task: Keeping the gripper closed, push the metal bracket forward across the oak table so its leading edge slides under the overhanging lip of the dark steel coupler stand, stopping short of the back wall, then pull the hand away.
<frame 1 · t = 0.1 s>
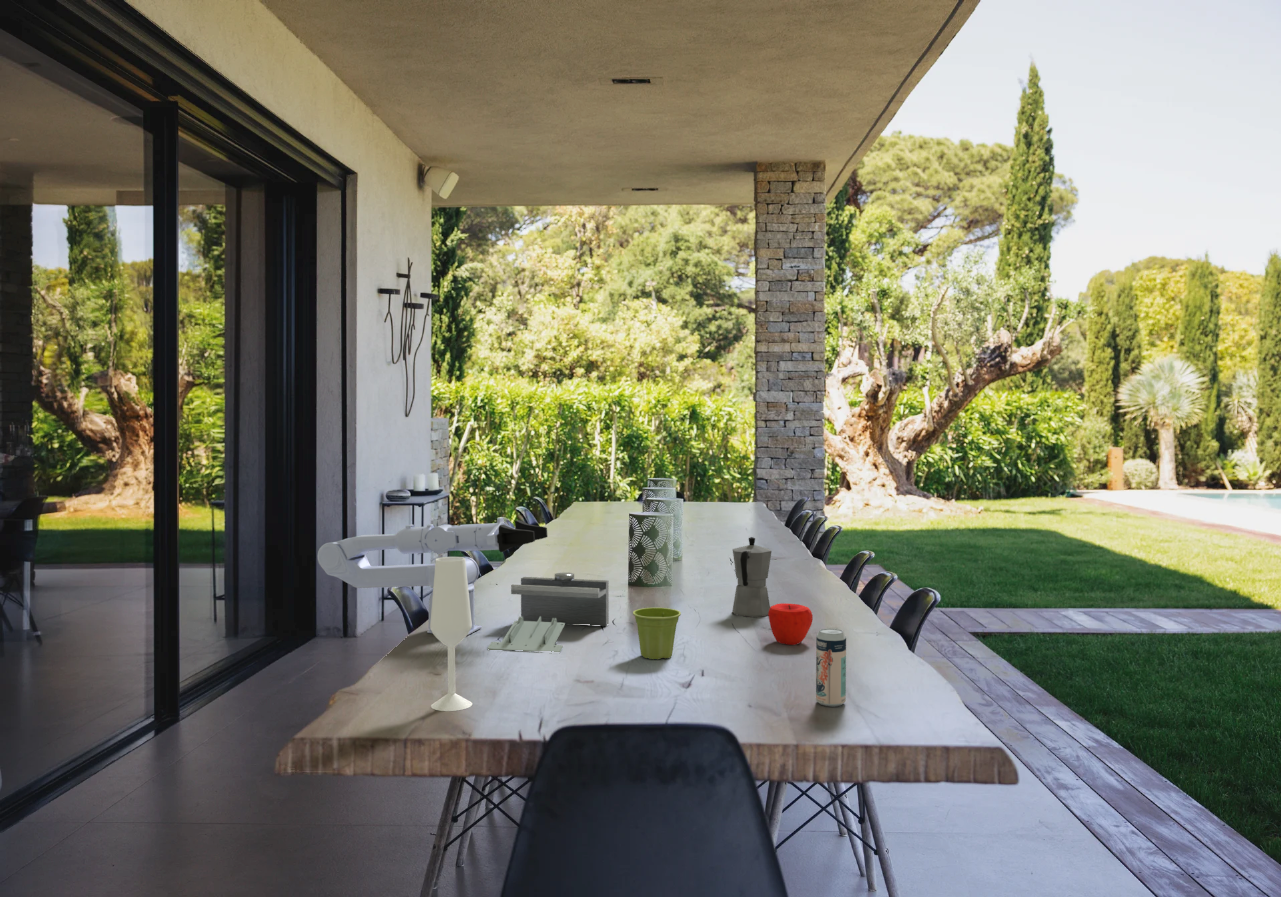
hand: (540, 534, 216), 22 cm above the table, tool horizontal, fingers open, 7 cm apart
coffeepot: (750, 614, 240), on the table
plant pot: (656, 657, 199), on the table
metal bracket: (532, 647, 209), on the table
champagne flute: (451, 706, 167), on the table
coupler stand: (560, 626, 226), on the table
apple: (789, 643, 211), on the table
beer can: (830, 704, 167), on the table
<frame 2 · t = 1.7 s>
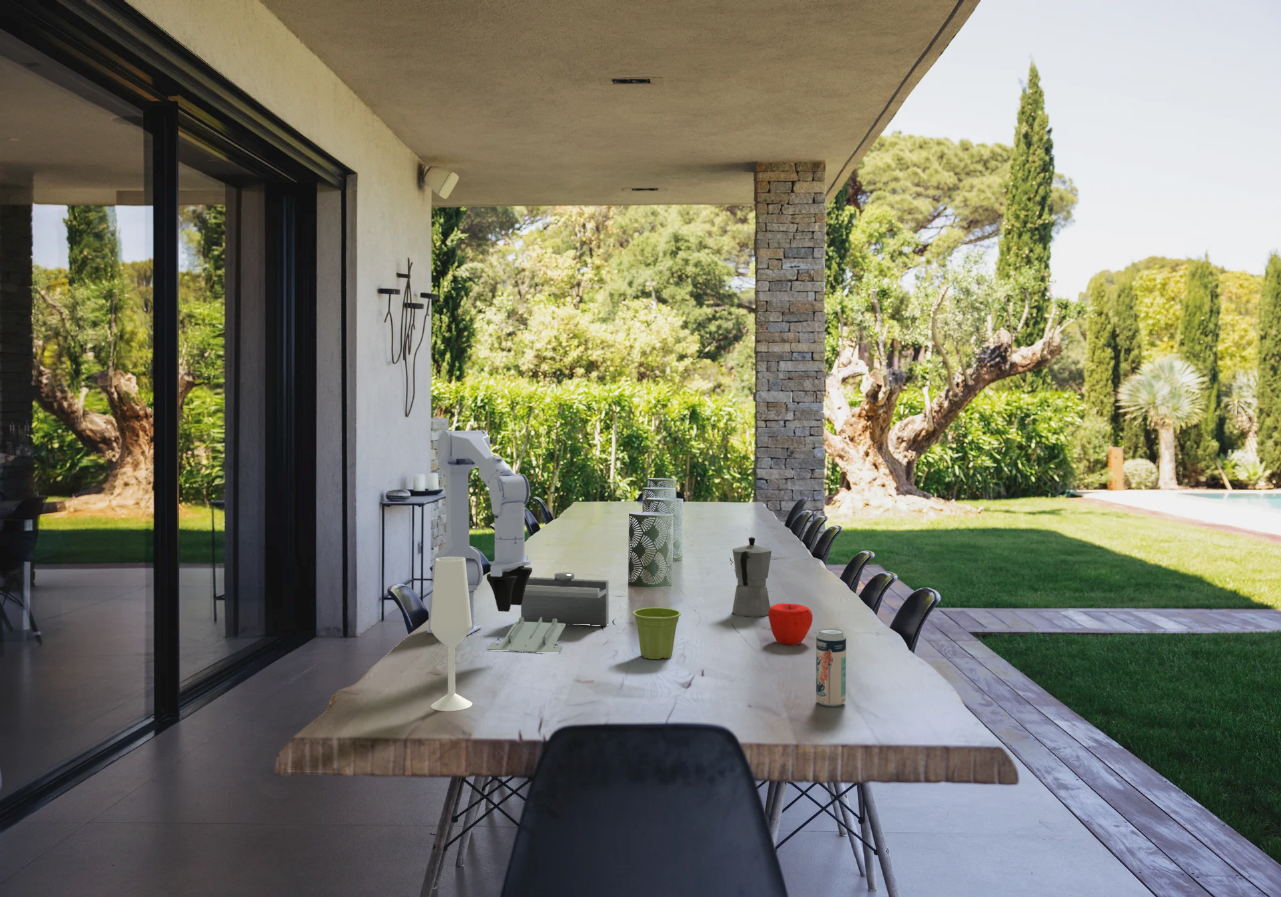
hand: (510, 608, 197), 10 cm above the table, tool pointing down, fingers open, 6 cm apart
nothing on the table moved.
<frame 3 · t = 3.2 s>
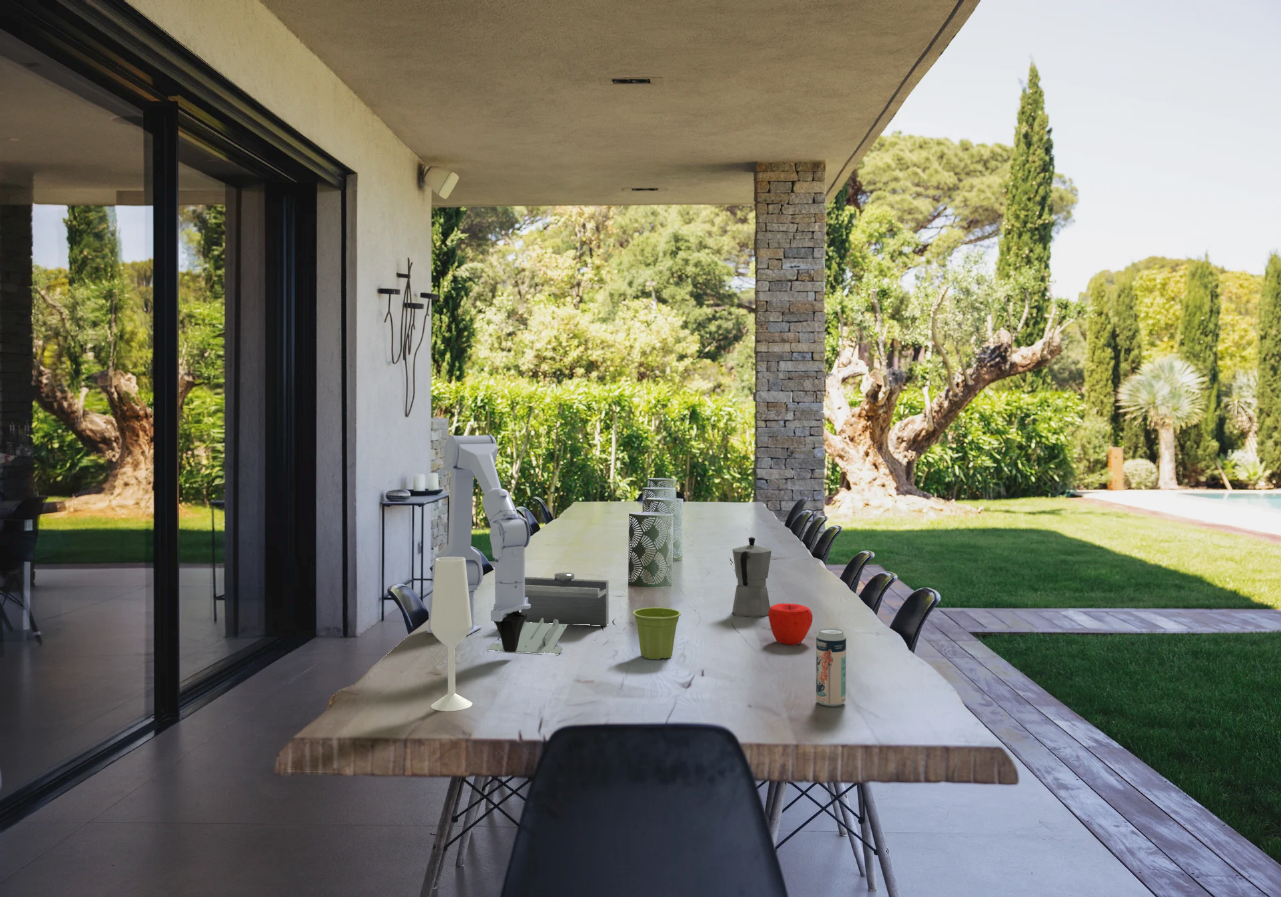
hand: (510, 651, 197), 1 cm above the table, tool pointing down, fingers closed
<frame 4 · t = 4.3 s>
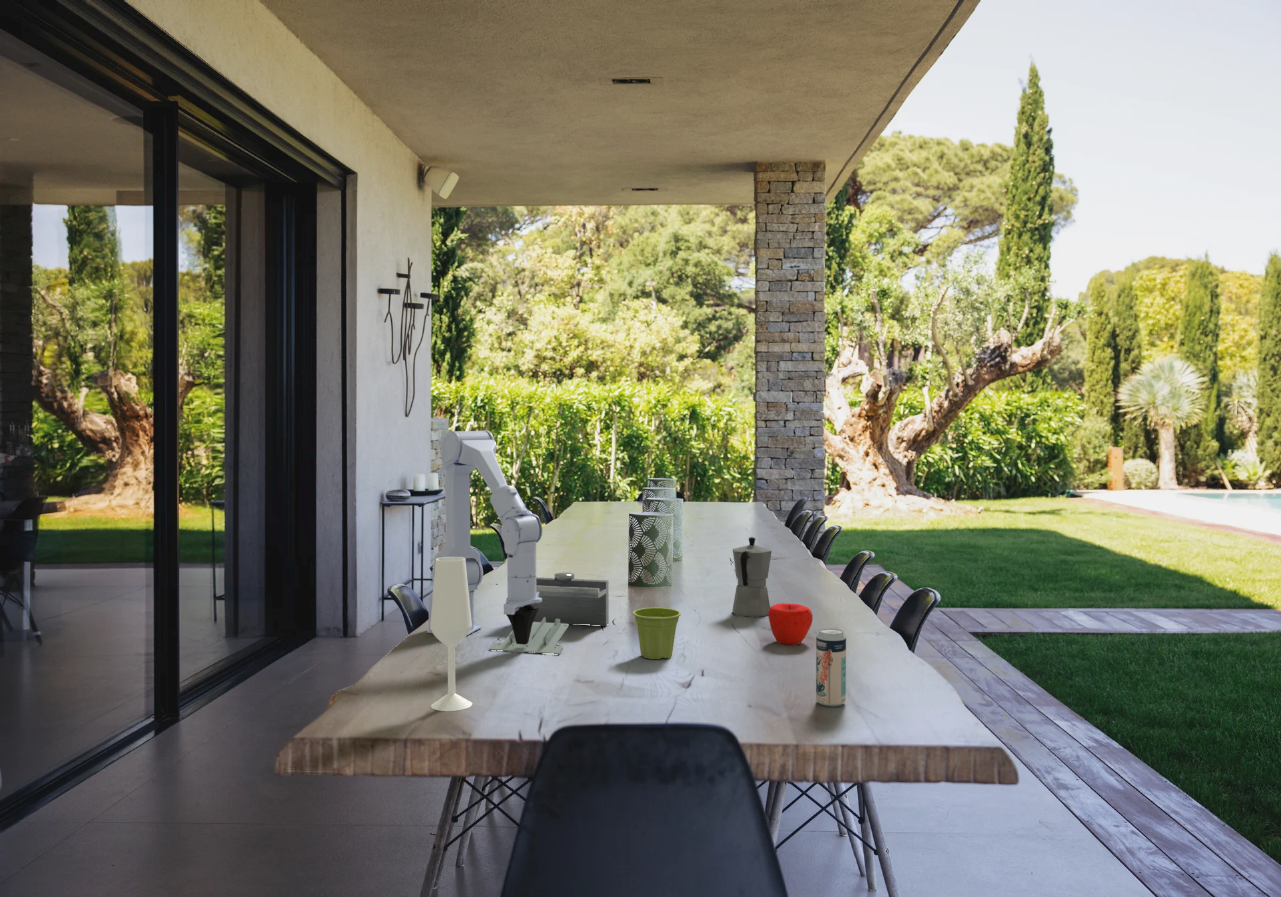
hand: (522, 643, 203), 1 cm above the table, tool pointing down, fingers closed
metal bracket: (534, 648, 208), on the table, touching gripper
everything else where it was.
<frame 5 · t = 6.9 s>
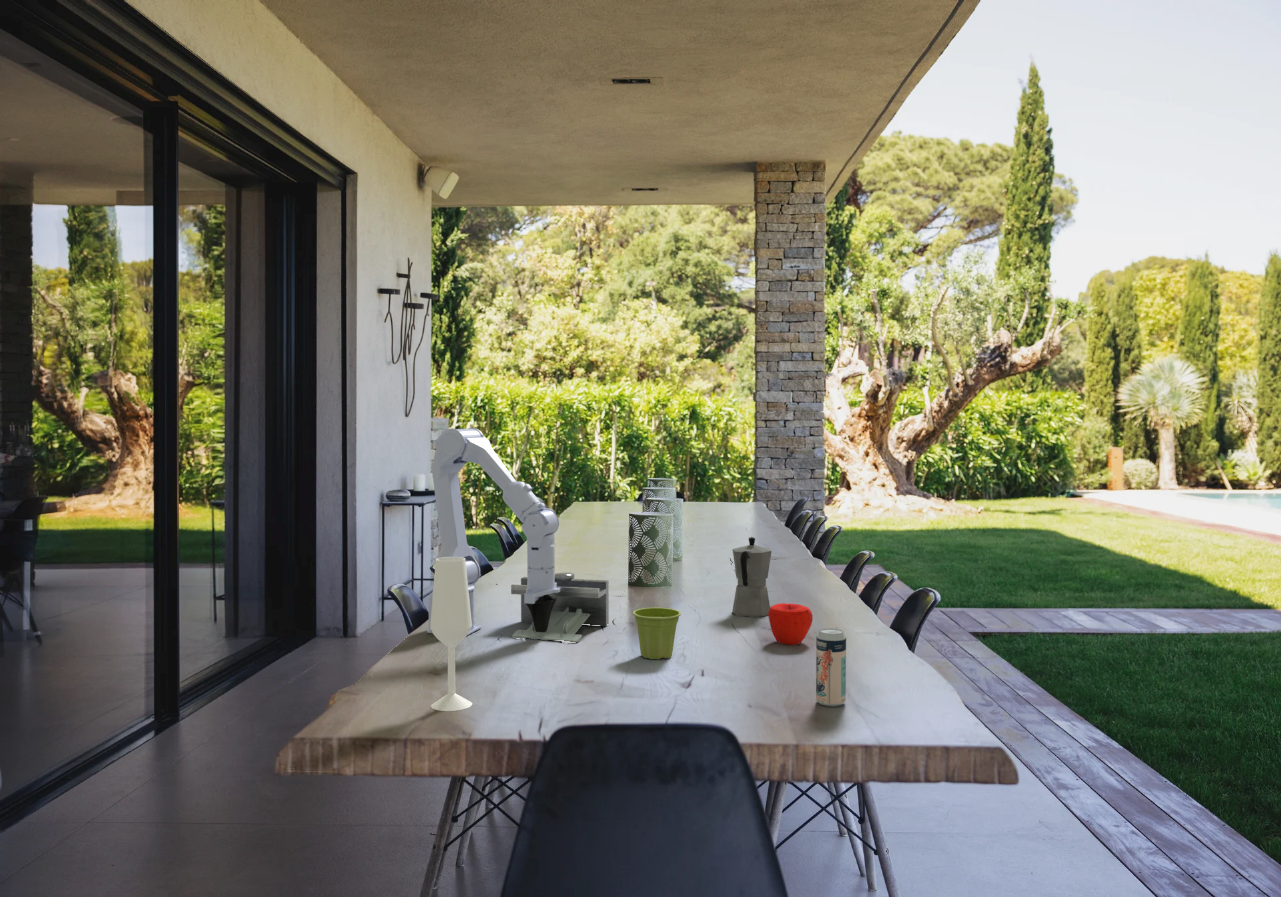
hand: (541, 631, 214), 1 cm above the table, tool pointing down, fingers closed
metal bracket: (556, 636, 218), on the table, touching gripper
everything else where it was.
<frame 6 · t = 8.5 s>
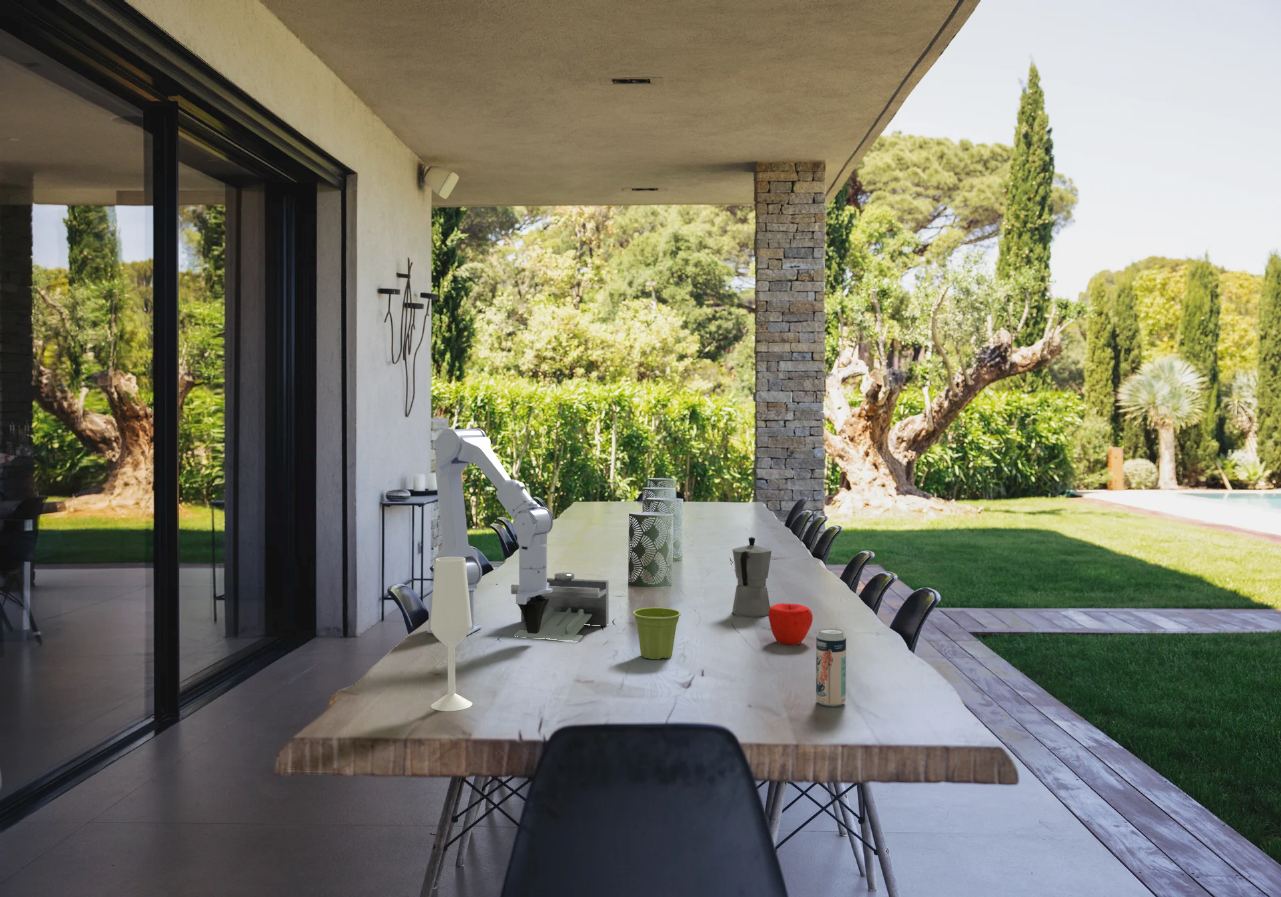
hand: (533, 632, 209), 2 cm above the table, tool pointing down, fingers closed
metal bracket: (558, 636, 219), on the table
everything else where it was.
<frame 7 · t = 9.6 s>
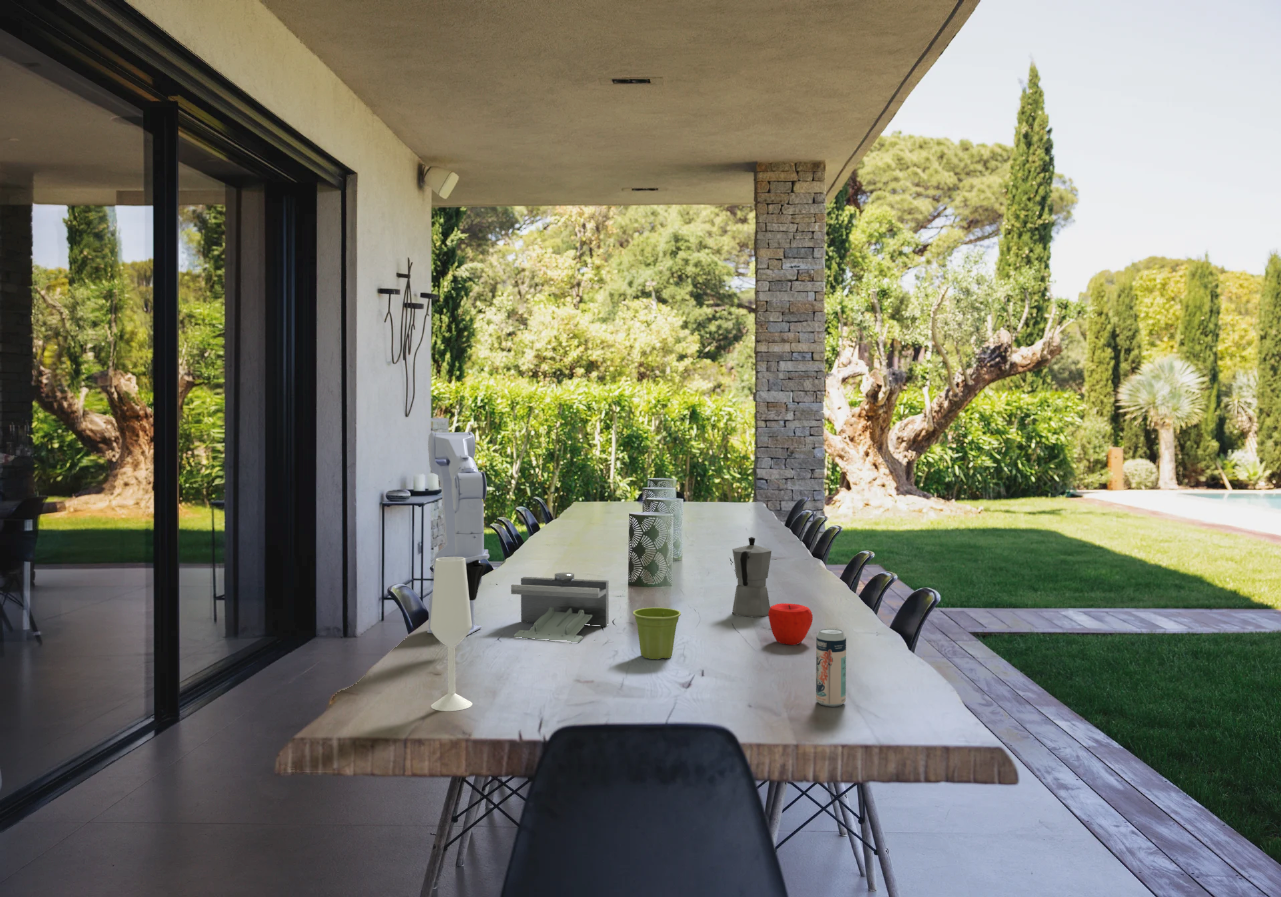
hand: (469, 599, 205), 10 cm above the table, tool pointing down, fingers closed
nothing on the table moved.
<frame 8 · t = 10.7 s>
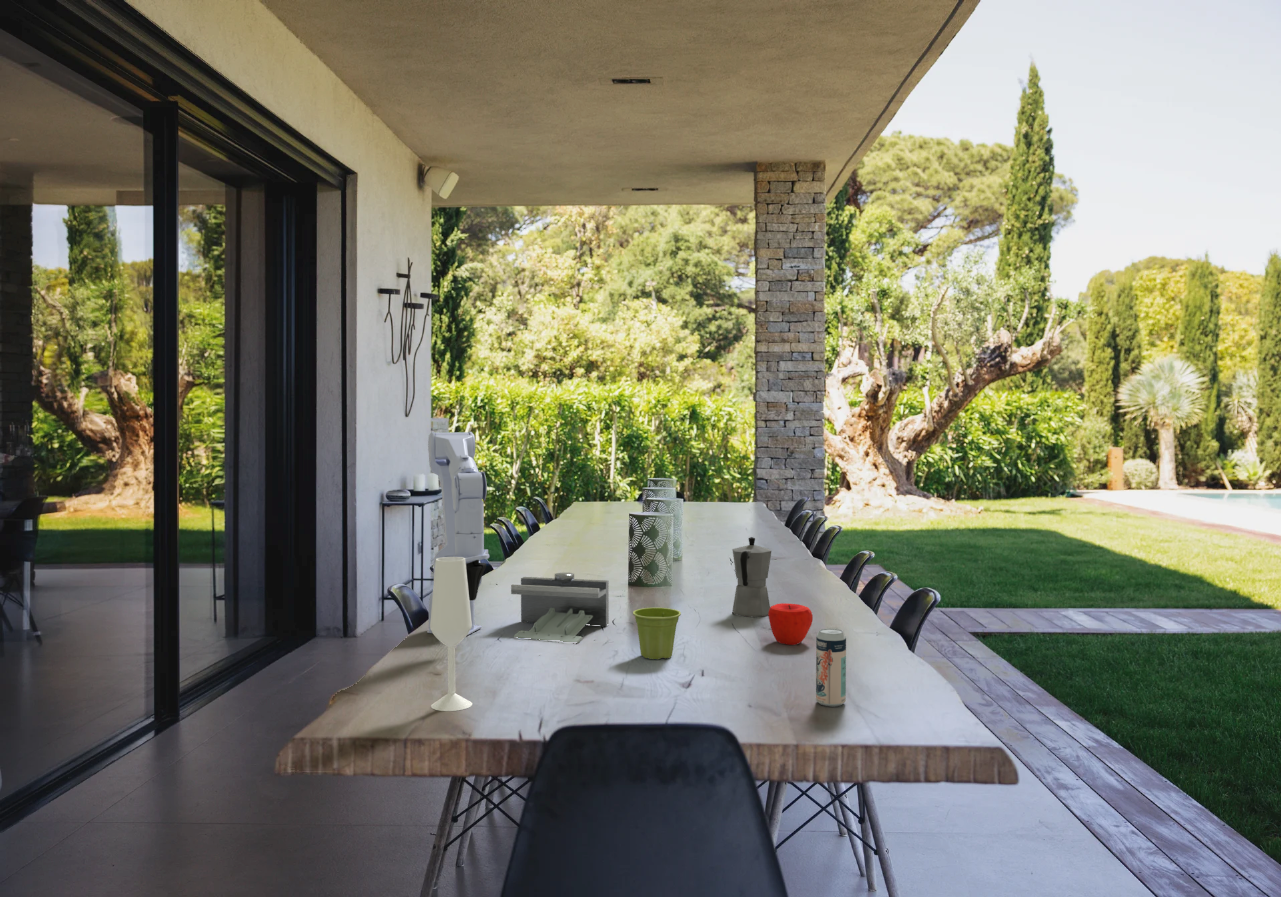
hand: (469, 599, 205), 10 cm above the table, tool pointing down, fingers closed
nothing on the table moved.
at the end: metal bracket inside the target area (2.6 cm from its centre), on the table; metal bracket moved 9.8 cm from its start; metal bracket tilted 0° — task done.
